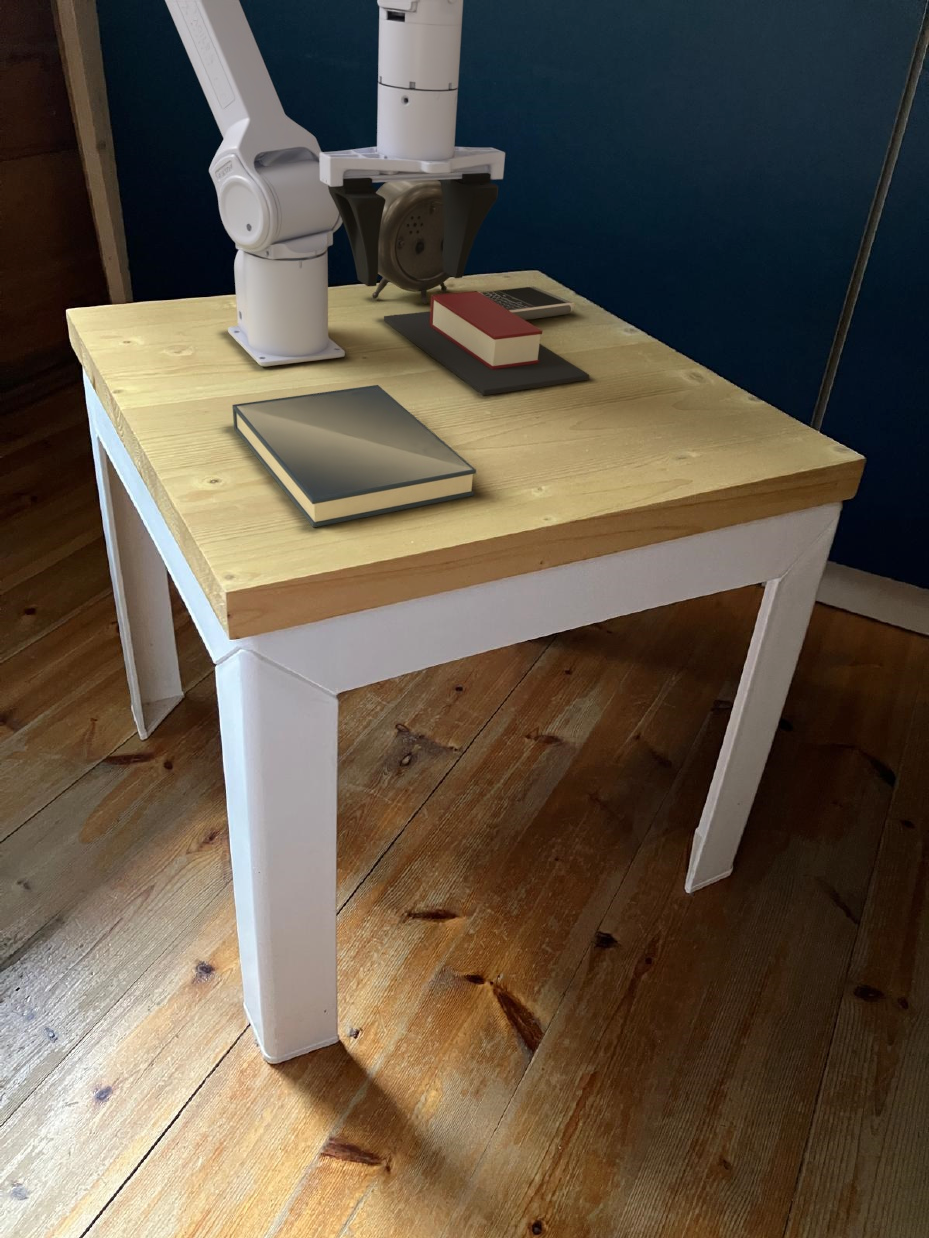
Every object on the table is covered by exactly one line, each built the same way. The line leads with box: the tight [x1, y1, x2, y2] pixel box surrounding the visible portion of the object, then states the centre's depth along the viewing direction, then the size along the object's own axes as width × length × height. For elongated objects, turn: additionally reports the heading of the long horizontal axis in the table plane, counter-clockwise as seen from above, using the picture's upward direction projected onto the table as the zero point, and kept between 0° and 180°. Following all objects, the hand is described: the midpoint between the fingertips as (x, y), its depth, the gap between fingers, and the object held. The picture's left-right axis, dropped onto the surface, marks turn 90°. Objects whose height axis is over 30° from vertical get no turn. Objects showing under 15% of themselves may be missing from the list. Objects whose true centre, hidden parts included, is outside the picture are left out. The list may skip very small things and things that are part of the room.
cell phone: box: [478, 286, 576, 321], centre depth 101 cm, size 6×11×1 cm, turn 130°
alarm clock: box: [371, 180, 451, 304], centre depth 99 cm, size 11×5×16 cm, turn 123°
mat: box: [383, 310, 590, 396], centre depth 93 cm, size 20×11×1 cm, turn 29°
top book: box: [430, 290, 543, 369], centre depth 92 cm, size 12×5×3 cm, turn 29°
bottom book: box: [231, 384, 477, 528], centre depth 71 cm, size 16×12×2 cm
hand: (410, 278), depth 78 cm, fingers open, 7 cm apart
